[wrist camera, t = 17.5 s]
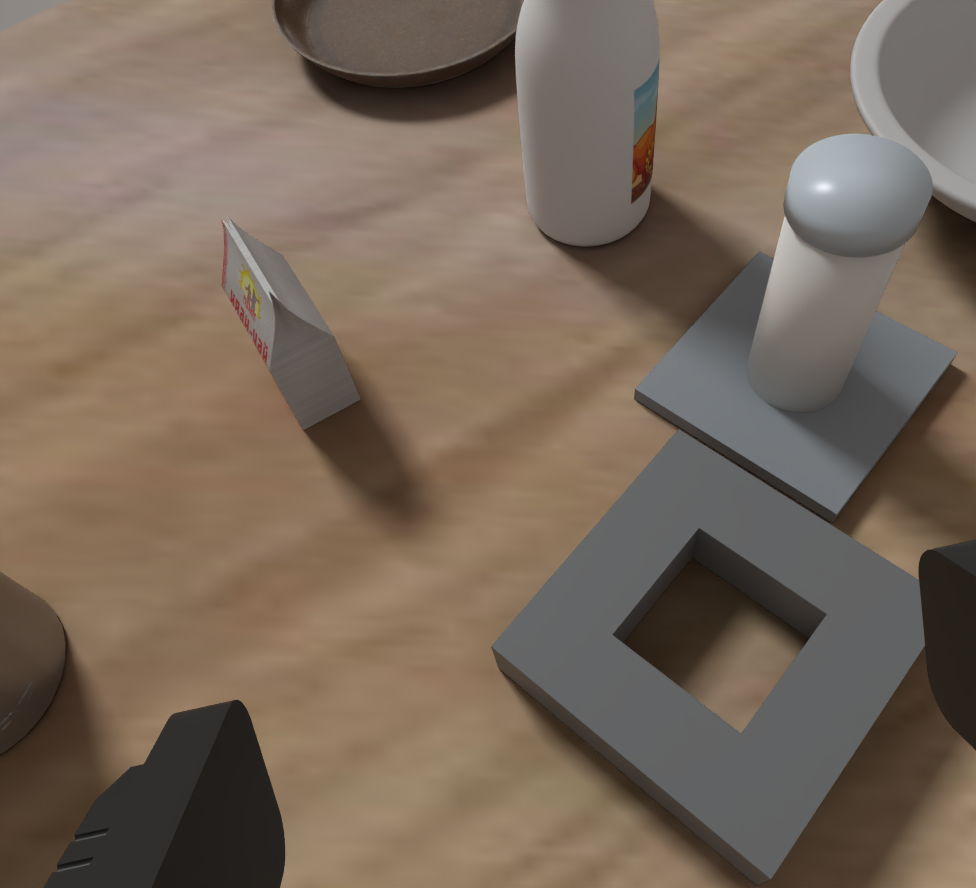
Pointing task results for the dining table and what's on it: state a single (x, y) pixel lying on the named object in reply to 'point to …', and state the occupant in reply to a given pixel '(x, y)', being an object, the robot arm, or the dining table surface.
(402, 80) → the plant saucer
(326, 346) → the white paper packet
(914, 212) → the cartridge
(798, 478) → the mat
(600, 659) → the housing
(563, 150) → the milk bottle
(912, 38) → the soup bowl
